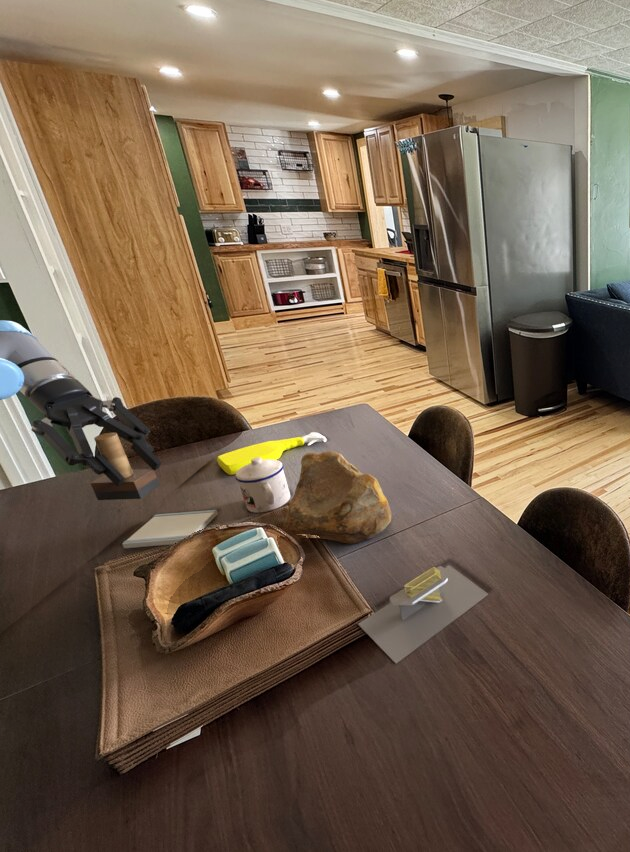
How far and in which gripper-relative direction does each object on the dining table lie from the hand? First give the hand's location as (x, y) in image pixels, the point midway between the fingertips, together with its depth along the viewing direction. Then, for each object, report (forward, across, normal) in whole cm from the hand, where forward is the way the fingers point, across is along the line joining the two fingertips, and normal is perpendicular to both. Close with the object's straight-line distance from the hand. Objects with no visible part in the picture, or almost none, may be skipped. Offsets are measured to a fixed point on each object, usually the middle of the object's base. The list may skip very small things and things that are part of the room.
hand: (139, 474), depth 95 cm
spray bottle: (+5, -33, -16) cm, 37 cm away
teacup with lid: (+19, -14, -1) cm, 24 cm away
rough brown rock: (+34, -12, +14) cm, 39 cm away
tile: (+11, -1, -9) cm, 14 cm away
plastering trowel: (+57, 0, +36) cm, 67 cm away
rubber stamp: (+1, +1, -6) cm, 6 cm away
